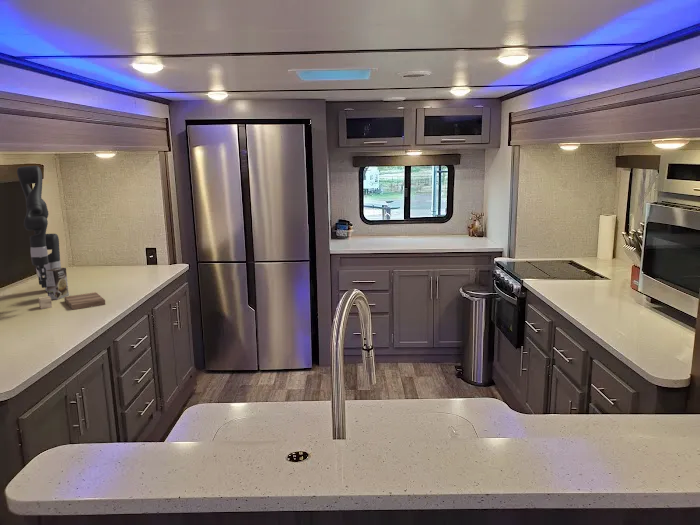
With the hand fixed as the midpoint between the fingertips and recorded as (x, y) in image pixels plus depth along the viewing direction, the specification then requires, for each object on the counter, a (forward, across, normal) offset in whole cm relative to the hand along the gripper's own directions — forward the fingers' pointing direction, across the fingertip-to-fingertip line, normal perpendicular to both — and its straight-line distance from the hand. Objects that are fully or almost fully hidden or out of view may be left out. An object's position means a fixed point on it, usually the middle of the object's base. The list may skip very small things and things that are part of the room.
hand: (42, 286), depth 284 cm
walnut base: (+11, +4, +18) cm, 22 cm away
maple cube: (+11, 0, 0) cm, 11 cm away
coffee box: (+11, -17, +9) cm, 23 cm away
